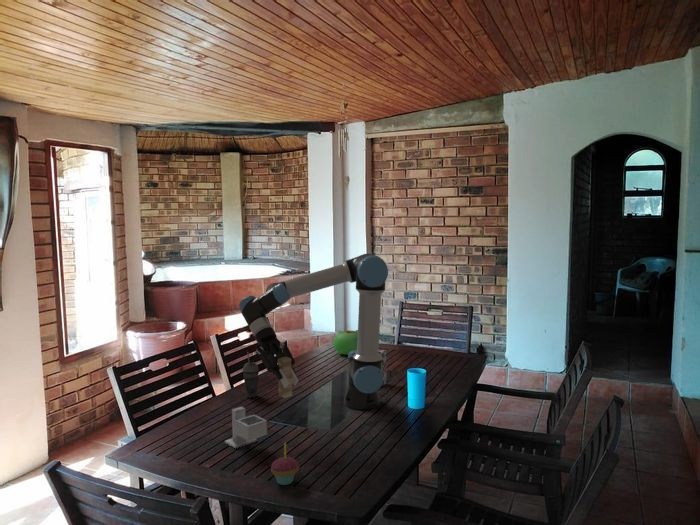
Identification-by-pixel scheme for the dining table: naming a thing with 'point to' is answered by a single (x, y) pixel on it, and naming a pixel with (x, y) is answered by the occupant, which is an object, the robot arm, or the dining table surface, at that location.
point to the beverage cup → (250, 378)
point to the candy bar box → (383, 365)
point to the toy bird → (346, 341)
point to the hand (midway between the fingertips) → (291, 384)
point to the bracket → (246, 428)
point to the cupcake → (284, 469)
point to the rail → (286, 367)
